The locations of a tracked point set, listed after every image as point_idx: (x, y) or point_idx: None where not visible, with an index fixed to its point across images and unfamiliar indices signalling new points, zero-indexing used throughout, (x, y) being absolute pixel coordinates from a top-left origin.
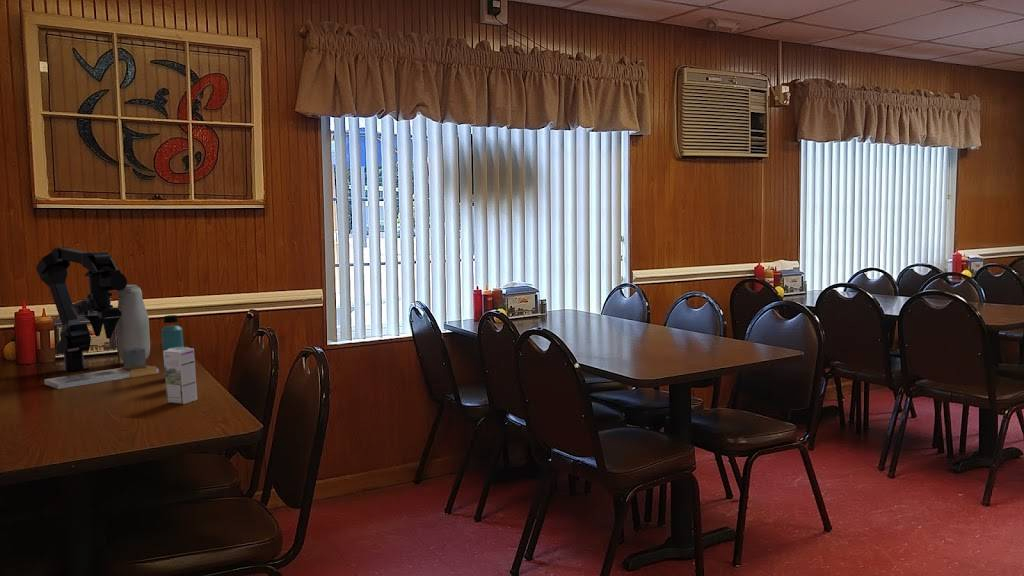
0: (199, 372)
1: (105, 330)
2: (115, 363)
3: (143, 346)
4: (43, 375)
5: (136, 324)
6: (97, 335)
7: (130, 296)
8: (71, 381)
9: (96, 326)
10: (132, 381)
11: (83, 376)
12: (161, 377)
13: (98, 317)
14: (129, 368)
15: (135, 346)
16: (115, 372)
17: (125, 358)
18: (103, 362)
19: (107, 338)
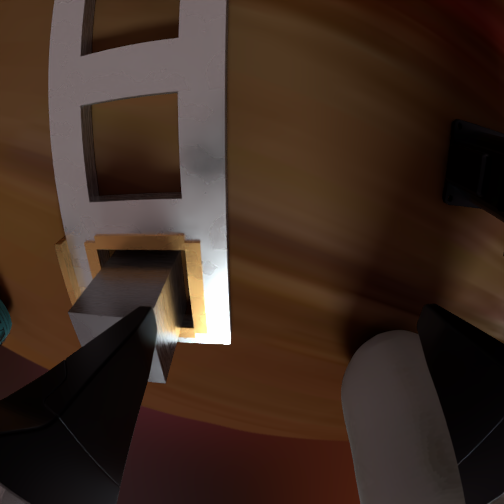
0: (46, 367)
1: (84, 350)
2: None
3: (344, 417)
4: (466, 40)
5: (366, 496)
6: (423, 316)
7: None
8: (62, 9)
9: (469, 378)
10: (9, 208)
11: (132, 60)
12: (24, 290)
13: (499, 469)
14: (114, 263)
15: (352, 402)
16: (114, 201)
17: (134, 288)
18: (494, 292)
19: (141, 307)
